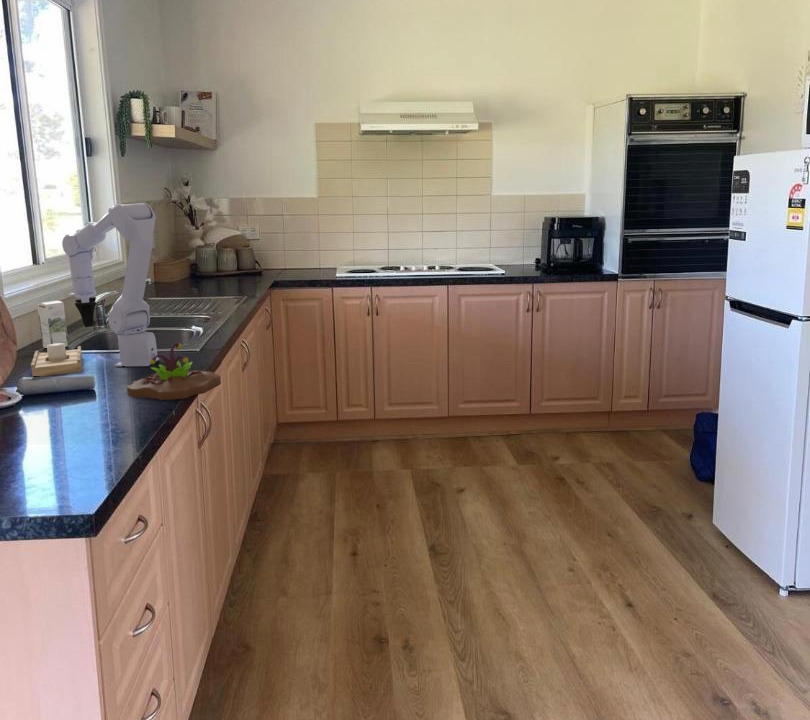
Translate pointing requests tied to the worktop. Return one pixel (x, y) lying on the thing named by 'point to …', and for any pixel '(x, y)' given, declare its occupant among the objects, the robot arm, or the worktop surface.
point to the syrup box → (52, 323)
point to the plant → (173, 380)
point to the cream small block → (56, 351)
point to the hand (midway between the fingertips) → (88, 324)
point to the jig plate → (57, 363)
